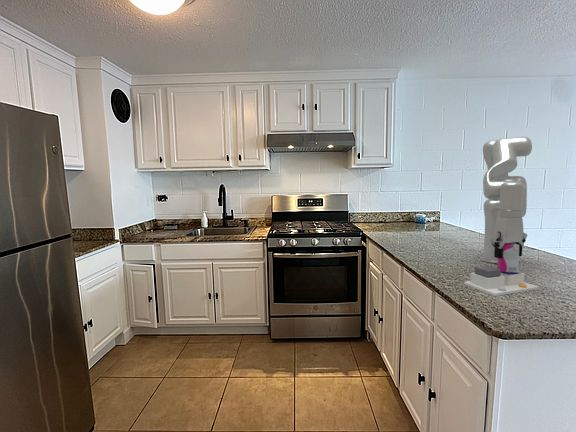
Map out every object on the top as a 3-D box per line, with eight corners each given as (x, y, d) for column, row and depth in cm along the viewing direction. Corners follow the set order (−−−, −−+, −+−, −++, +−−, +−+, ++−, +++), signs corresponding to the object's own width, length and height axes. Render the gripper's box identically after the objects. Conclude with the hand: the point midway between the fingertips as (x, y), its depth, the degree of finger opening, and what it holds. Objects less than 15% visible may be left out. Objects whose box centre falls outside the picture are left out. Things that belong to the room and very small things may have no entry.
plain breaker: (486, 275, 129) (487, 265, 128) (500, 279, 123) (500, 269, 123) (474, 276, 127) (474, 267, 127) (487, 281, 121) (488, 271, 121)
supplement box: (513, 269, 130) (514, 242, 128) (518, 274, 124) (520, 245, 123) (496, 269, 131) (498, 241, 130) (501, 273, 126) (502, 244, 125)
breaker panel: (505, 278, 135) (505, 266, 134) (538, 289, 121) (539, 276, 121) (464, 284, 129) (464, 272, 129) (494, 296, 116) (495, 282, 115)
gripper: (518, 211, 131) (515, 252, 133) (484, 214, 126) (482, 256, 128) (536, 213, 123) (534, 256, 126) (501, 216, 119) (499, 261, 121)
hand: (508, 256), depth 127 cm, fingers open, 9 cm apart
